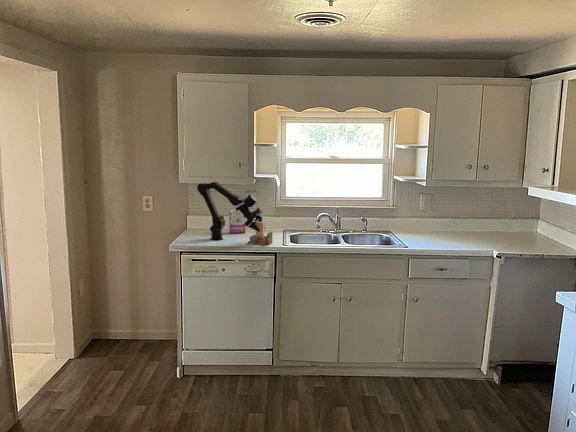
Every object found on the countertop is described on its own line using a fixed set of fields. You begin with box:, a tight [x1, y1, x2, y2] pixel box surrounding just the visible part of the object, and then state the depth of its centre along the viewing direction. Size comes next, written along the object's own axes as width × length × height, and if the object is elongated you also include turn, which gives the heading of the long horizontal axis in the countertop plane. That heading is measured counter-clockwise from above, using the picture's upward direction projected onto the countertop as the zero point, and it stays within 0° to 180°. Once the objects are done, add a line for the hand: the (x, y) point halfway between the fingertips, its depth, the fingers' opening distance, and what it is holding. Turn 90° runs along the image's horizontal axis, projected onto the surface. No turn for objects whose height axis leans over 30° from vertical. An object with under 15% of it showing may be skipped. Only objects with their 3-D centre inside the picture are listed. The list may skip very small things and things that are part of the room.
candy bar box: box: [228, 209, 246, 235], centre depth 340 cm, size 11×5×16 cm, turn 112°
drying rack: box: [247, 231, 273, 246], centre depth 308 cm, size 14×8×8 cm, turn 73°
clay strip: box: [255, 221, 265, 237], centre depth 307 cm, size 5×2×13 cm, turn 72°
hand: (262, 230), depth 307 cm, fingers open, 9 cm apart
